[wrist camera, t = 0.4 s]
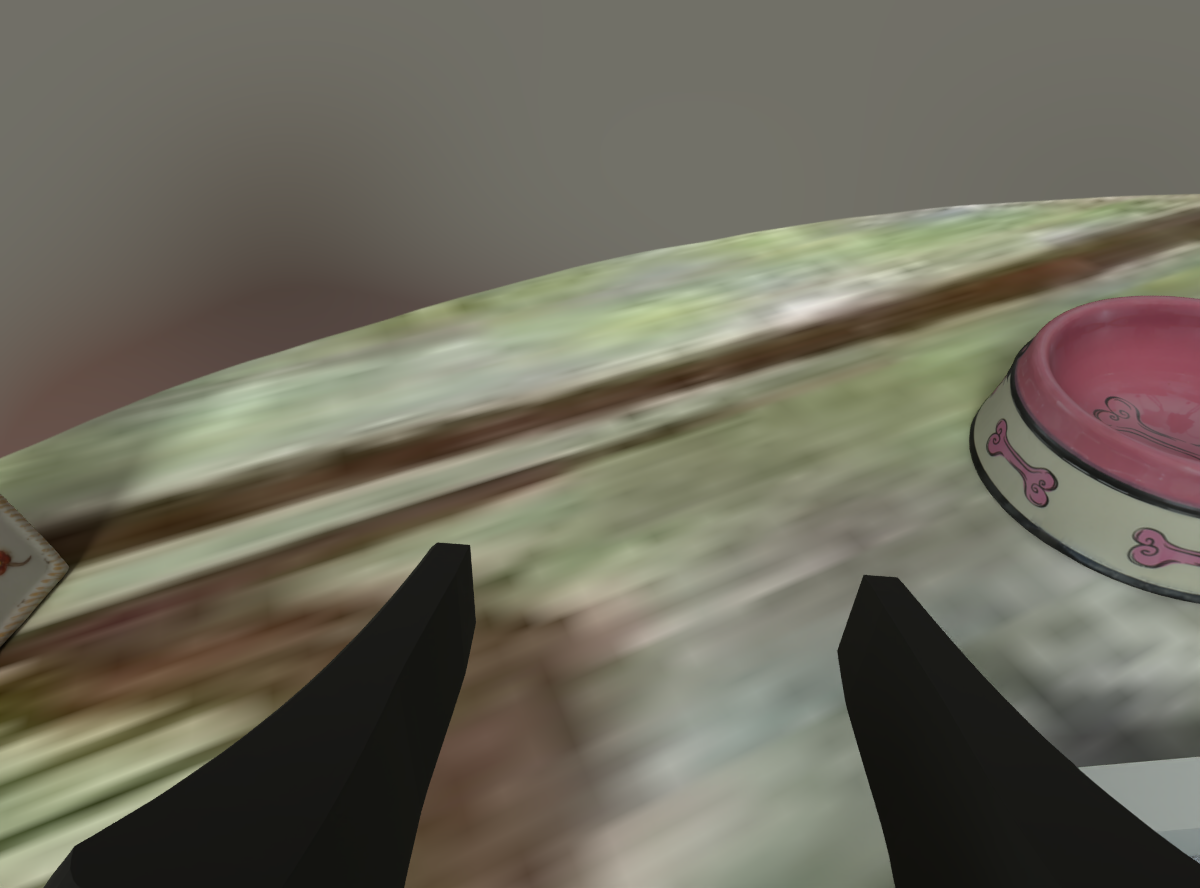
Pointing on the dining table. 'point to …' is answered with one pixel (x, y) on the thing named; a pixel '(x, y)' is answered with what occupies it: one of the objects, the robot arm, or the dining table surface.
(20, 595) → the decorative jar
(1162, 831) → the hole block
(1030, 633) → the dining table surface
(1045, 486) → the dog bowl
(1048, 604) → the dining table surface
